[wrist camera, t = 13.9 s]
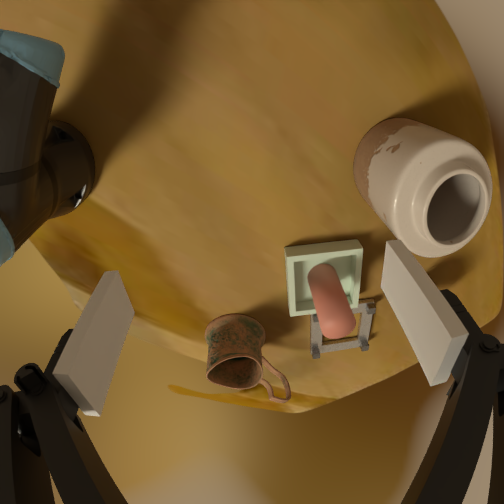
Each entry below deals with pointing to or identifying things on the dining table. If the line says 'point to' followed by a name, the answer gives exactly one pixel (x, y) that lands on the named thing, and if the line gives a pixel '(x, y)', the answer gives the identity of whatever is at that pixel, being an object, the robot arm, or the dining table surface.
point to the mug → (239, 354)
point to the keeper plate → (317, 346)
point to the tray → (307, 256)
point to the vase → (423, 185)
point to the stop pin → (330, 302)
